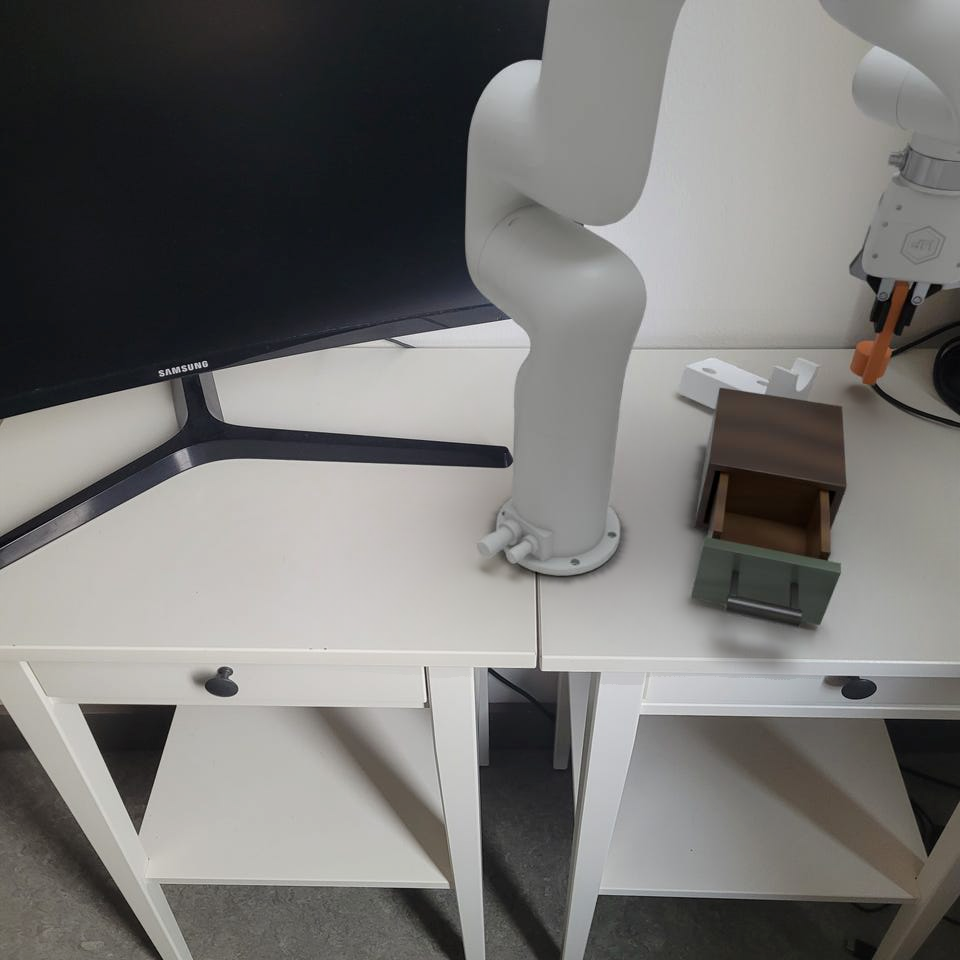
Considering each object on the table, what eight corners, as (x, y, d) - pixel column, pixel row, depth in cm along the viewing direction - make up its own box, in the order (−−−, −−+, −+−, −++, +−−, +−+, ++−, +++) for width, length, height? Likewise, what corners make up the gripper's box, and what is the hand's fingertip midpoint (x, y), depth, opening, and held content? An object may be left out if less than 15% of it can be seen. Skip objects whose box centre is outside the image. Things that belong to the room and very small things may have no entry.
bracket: (797, 423, 99) (820, 365, 96) (772, 435, 94) (795, 375, 91) (704, 382, 106) (722, 327, 103) (677, 392, 101) (695, 334, 98)
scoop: (886, 387, 98) (922, 288, 89) (850, 382, 99) (883, 283, 90) (883, 364, 102) (917, 267, 93) (849, 359, 103) (880, 263, 94)
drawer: (820, 665, 70) (843, 613, 65) (685, 635, 72) (698, 583, 68) (818, 532, 82) (837, 480, 78) (703, 510, 85) (714, 459, 80)
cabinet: (822, 552, 81) (847, 486, 76) (694, 527, 84) (708, 462, 79) (820, 469, 91) (842, 405, 86) (706, 449, 94) (719, 387, 88)
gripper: (862, 173, 81) (815, 335, 93) (1036, 188, 78) (964, 355, 90) (859, 149, 87) (815, 305, 99) (1021, 162, 83) (955, 322, 95)
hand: (886, 327), depth 94 cm, fingers closed on scoop, 1 cm apart
